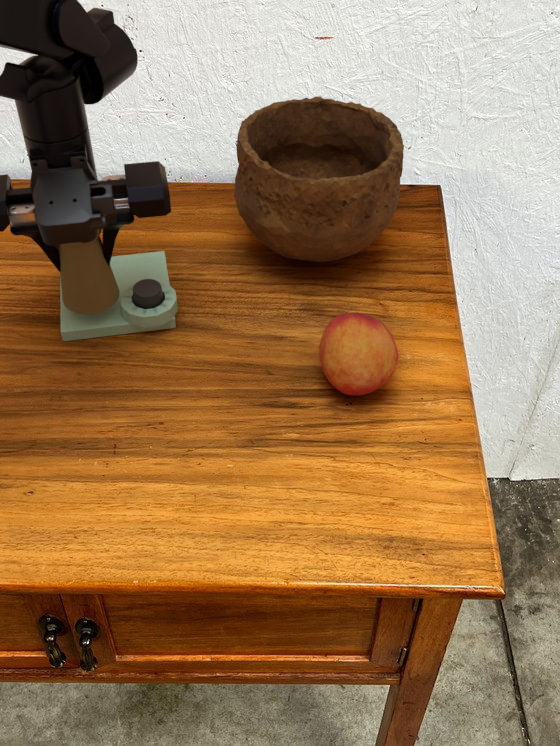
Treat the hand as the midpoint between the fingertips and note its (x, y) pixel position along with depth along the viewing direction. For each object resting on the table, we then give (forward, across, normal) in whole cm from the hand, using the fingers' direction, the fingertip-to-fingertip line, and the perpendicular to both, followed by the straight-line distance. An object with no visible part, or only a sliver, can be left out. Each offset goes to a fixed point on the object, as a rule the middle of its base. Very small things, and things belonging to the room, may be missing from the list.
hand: (84, 266), depth 80 cm
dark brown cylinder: (+4, +6, -1) cm, 8 cm away
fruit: (+7, +26, -14) cm, 30 cm away
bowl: (+7, +27, +9) cm, 29 cm away
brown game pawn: (+4, 0, 0) cm, 4 cm away
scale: (+7, +3, +3) cm, 8 cm away
